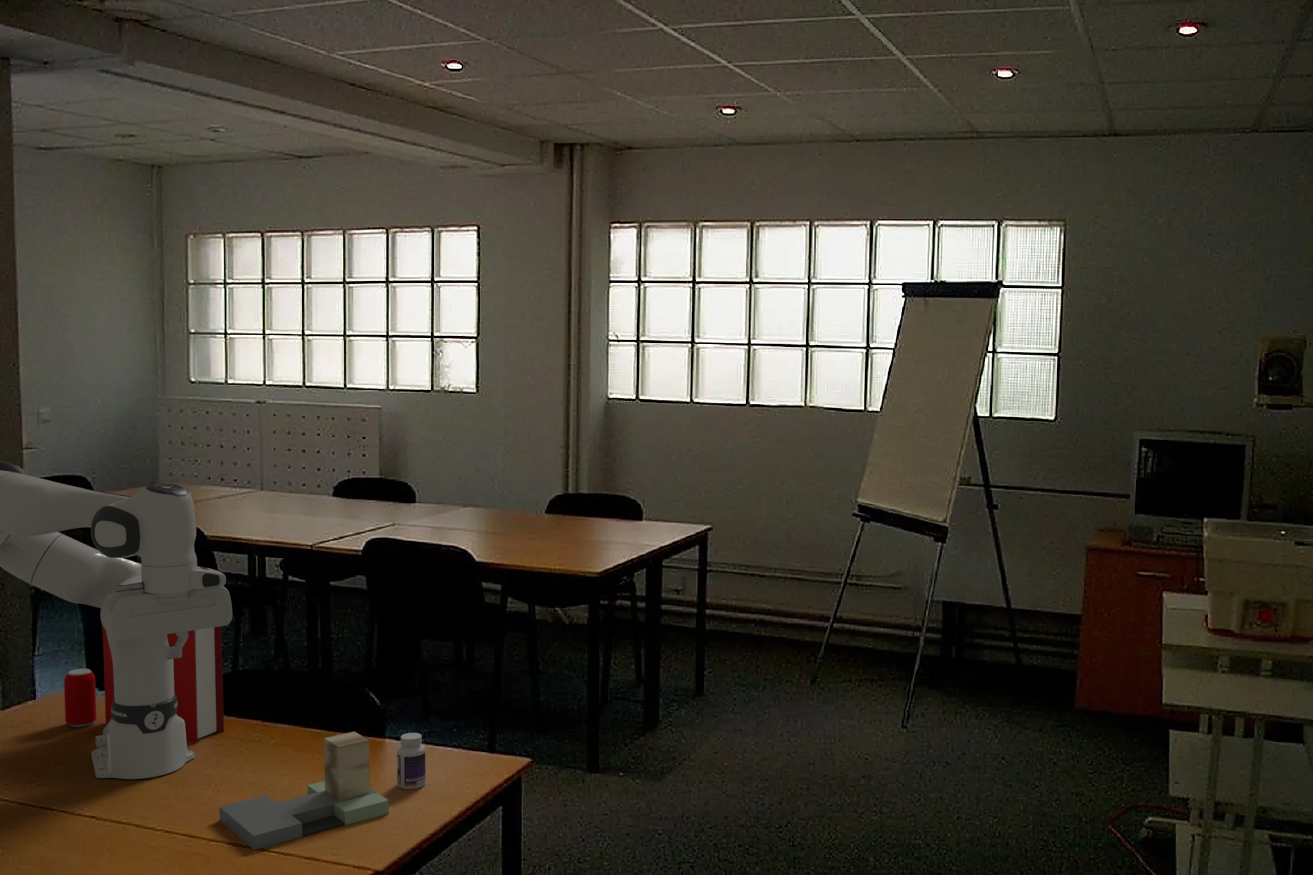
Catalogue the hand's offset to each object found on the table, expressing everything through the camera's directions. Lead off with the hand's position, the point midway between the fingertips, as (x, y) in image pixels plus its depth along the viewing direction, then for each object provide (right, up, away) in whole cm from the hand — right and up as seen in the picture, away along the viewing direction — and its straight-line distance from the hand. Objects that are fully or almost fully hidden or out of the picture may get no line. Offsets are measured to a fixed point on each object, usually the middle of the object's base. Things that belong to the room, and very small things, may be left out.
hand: (171, 658), depth 207 cm
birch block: (+26, -28, +16) cm, 41 cm away
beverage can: (-44, -26, +60) cm, 79 cm away
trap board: (+20, -31, +10) cm, 38 cm away
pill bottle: (+36, -30, +26) cm, 53 cm away
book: (-25, -26, +57) cm, 68 cm away
